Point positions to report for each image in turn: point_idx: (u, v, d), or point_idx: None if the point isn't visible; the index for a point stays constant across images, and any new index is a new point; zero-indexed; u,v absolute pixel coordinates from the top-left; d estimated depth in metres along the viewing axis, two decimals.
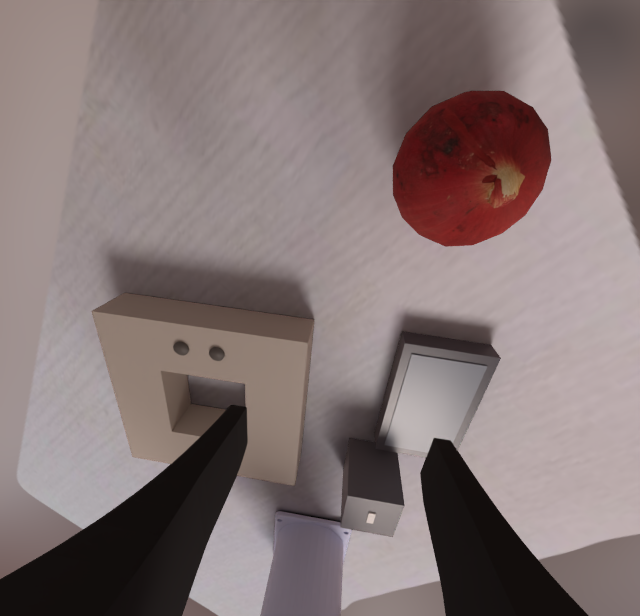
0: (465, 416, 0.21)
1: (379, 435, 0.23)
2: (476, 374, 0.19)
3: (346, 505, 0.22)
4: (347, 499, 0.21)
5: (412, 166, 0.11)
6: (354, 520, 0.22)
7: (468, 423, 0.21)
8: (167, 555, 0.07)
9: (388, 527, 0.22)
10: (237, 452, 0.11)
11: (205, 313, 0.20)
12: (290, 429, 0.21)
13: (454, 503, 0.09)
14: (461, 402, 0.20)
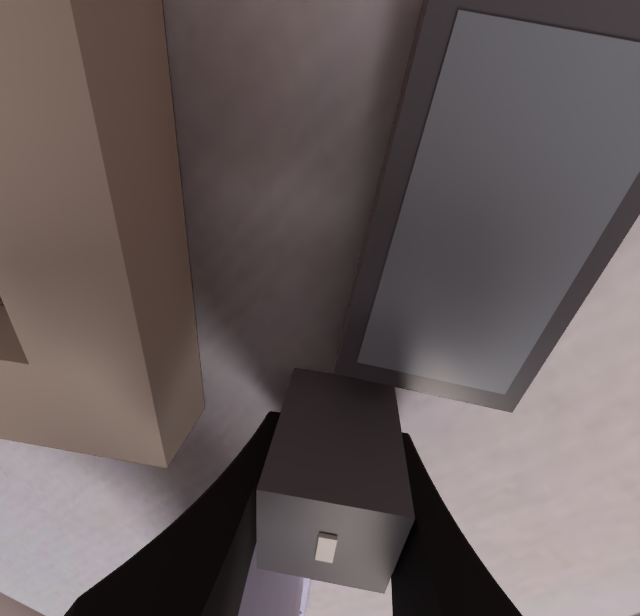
0: (577, 274, 0.08)
1: (345, 336, 0.09)
2: None
3: (259, 516, 0.08)
4: (259, 499, 0.08)
5: None
6: (286, 553, 0.09)
7: (581, 297, 0.08)
8: (231, 568, 0.07)
9: (371, 571, 0.09)
10: None
11: None
12: (111, 310, 0.08)
13: None
14: (580, 220, 0.07)
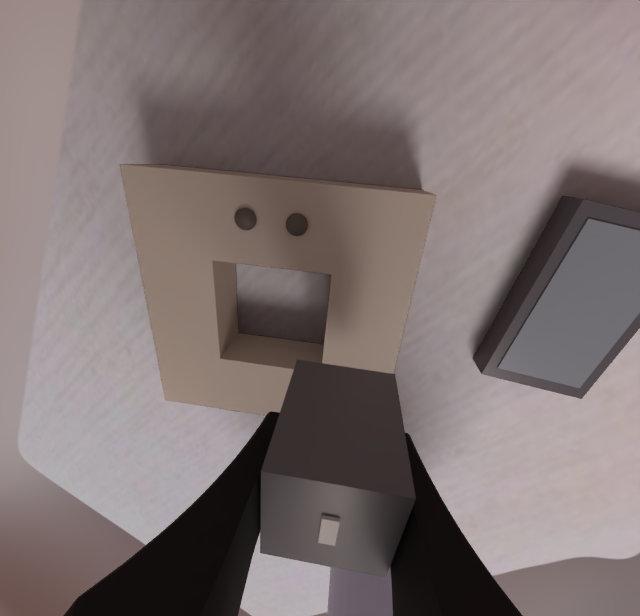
0: (627, 327, 0.15)
1: (494, 353, 0.17)
2: None
3: (263, 498, 0.08)
4: (263, 482, 0.08)
5: None
6: (290, 537, 0.09)
7: (627, 338, 0.16)
8: (230, 568, 0.07)
9: (373, 554, 0.09)
10: None
11: (275, 177, 0.14)
12: (387, 345, 0.16)
13: None
14: (632, 303, 0.15)
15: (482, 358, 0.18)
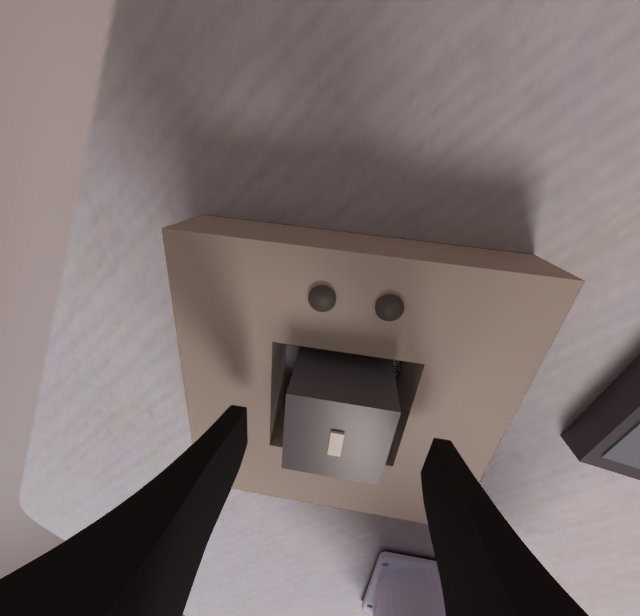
0: None
1: (601, 441, 0.14)
2: None
3: (286, 417, 0.11)
4: (287, 403, 0.11)
5: None
6: (305, 451, 0.12)
7: None
8: (167, 555, 0.07)
9: (369, 464, 0.11)
10: (237, 452, 0.11)
11: (355, 240, 0.11)
12: (482, 442, 0.13)
13: (454, 503, 0.09)
14: None
15: (579, 441, 0.15)
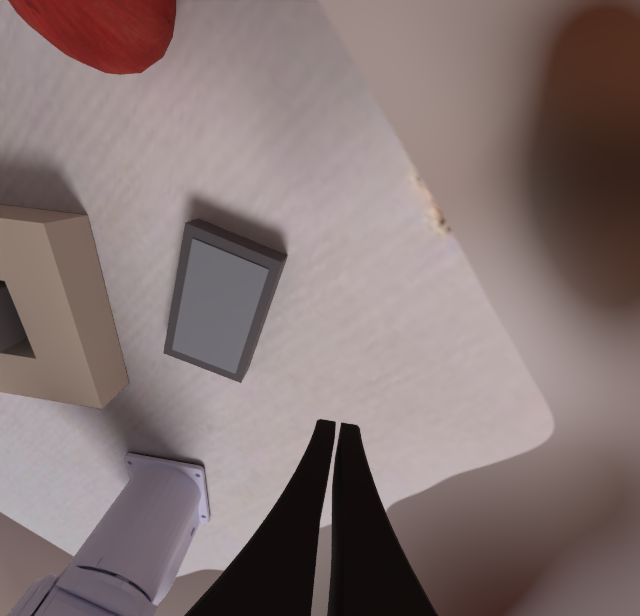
0: (251, 328, 0.20)
1: (167, 337, 0.21)
2: (259, 278, 0.18)
3: None
4: None
5: None
6: None
7: (254, 337, 0.20)
8: None
9: None
10: (329, 468, 0.11)
11: None
12: (70, 336, 0.20)
13: (340, 483, 0.09)
14: (247, 310, 0.19)
15: None
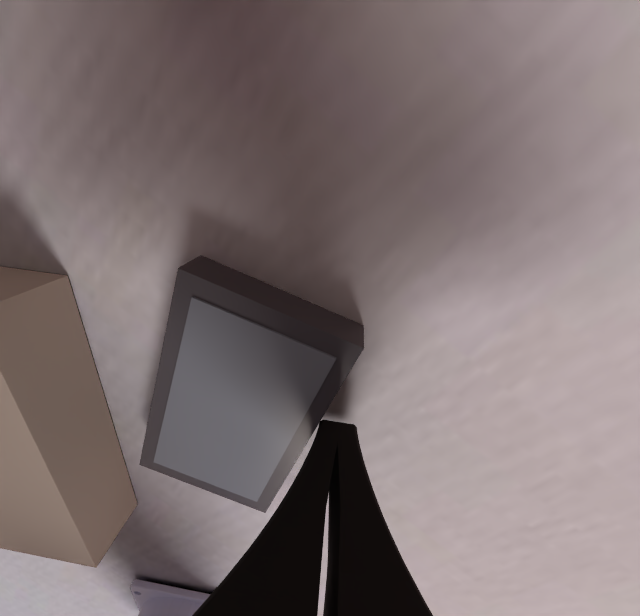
0: (290, 444, 0.11)
1: (145, 443, 0.12)
2: (315, 370, 0.10)
3: None
4: None
5: None
6: None
7: (294, 457, 0.12)
8: None
9: None
10: (332, 468, 0.11)
11: None
12: (39, 481, 0.12)
13: (336, 482, 0.09)
14: (286, 417, 0.11)
15: None
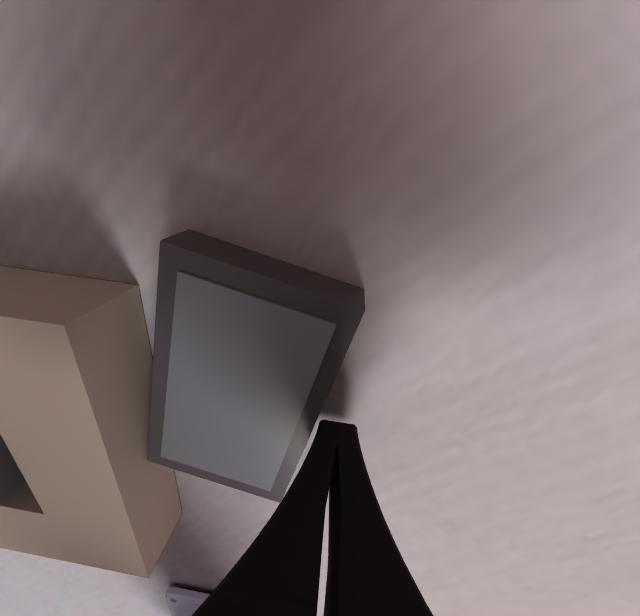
0: (298, 425, 0.11)
1: (150, 437, 0.12)
2: (316, 340, 0.09)
3: None
4: None
5: None
6: None
7: (304, 439, 0.11)
8: None
9: None
10: (332, 468, 0.11)
11: None
12: (105, 493, 0.11)
13: (337, 482, 0.09)
14: (290, 396, 0.10)
15: None
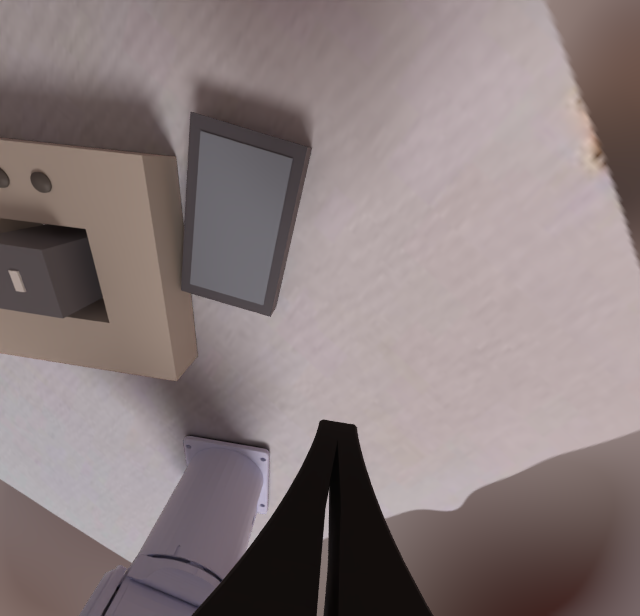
0: (277, 243, 0.17)
1: (183, 269, 0.18)
2: (282, 173, 0.15)
3: None
4: None
5: None
6: (4, 291, 0.17)
7: (281, 254, 0.17)
8: None
9: (47, 299, 0.16)
10: (332, 469, 0.11)
11: (36, 142, 0.16)
12: (153, 295, 0.18)
13: (337, 483, 0.09)
14: (270, 218, 0.16)
15: None
